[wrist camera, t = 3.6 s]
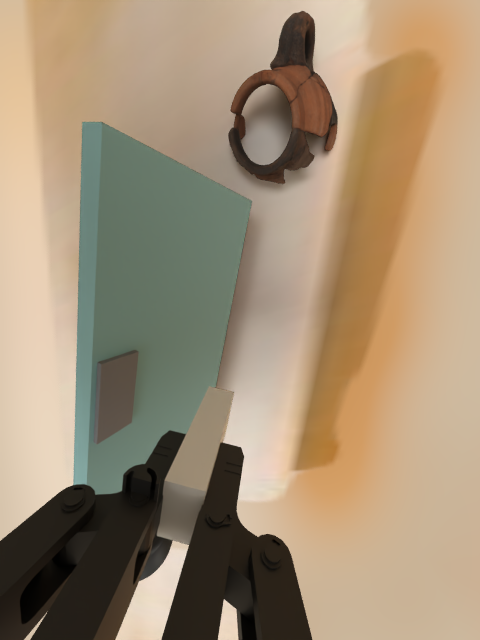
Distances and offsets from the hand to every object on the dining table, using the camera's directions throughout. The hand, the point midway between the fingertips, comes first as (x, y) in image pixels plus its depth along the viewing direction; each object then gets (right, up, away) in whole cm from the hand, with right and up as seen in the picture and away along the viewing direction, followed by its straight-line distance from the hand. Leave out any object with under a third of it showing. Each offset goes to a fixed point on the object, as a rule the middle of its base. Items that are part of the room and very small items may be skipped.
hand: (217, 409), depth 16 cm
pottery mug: (+6, +25, +12) cm, 28 cm away
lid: (-4, +2, +5) cm, 7 cm away
